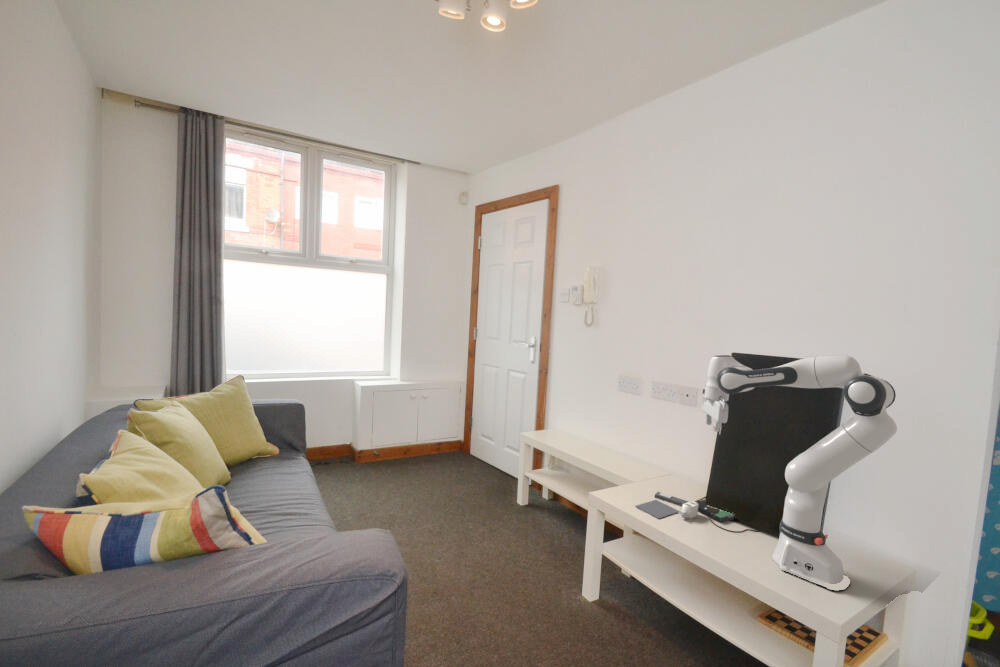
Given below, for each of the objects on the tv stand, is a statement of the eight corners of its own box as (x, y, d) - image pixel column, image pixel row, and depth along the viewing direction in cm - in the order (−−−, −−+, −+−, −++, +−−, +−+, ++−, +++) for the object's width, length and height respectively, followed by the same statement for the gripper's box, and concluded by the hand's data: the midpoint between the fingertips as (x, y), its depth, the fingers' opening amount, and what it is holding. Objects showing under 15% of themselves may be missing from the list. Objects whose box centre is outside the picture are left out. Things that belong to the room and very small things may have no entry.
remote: (691, 506, 203) (692, 501, 203) (688, 509, 200) (689, 505, 199) (657, 495, 212) (658, 491, 212) (654, 498, 209) (654, 493, 208)
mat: (679, 512, 195) (679, 511, 195) (658, 519, 187) (658, 518, 187) (655, 500, 205) (655, 499, 205) (635, 506, 197) (635, 505, 197)
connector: (698, 515, 194) (700, 504, 193) (684, 520, 188) (685, 509, 187) (691, 511, 196) (692, 500, 196) (676, 517, 190) (677, 505, 190)
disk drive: (689, 508, 201) (720, 524, 188) (690, 502, 201) (720, 517, 188) (704, 505, 206) (735, 519, 193) (705, 498, 206) (736, 513, 193)
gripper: (734, 401, 175) (729, 436, 176) (716, 390, 195) (712, 421, 196) (717, 399, 176) (712, 434, 177) (701, 388, 196) (696, 419, 197)
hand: (712, 427), depth 187 cm, fingers open, 8 cm apart
